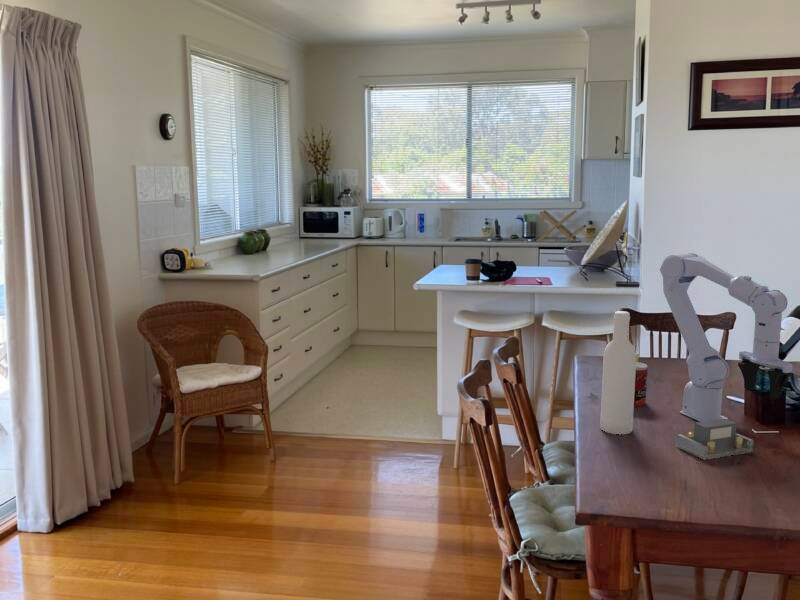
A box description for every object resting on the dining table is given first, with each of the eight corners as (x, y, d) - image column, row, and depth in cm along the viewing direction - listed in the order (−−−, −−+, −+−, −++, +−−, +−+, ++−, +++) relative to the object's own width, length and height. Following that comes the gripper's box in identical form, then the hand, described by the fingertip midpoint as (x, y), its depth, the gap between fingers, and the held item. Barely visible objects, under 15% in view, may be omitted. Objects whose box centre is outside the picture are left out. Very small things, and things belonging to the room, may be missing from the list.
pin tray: (676, 446, 178) (677, 432, 178) (723, 439, 183) (724, 425, 182) (703, 460, 170) (704, 445, 169) (752, 452, 175) (753, 438, 174)
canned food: (640, 408, 207) (642, 369, 206) (612, 403, 212) (613, 365, 210) (649, 401, 213) (652, 363, 212) (622, 396, 218) (624, 359, 216)
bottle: (612, 436, 185) (618, 316, 180) (593, 426, 192) (598, 310, 187) (639, 432, 188) (646, 313, 183) (619, 423, 195) (625, 308, 190)
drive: (693, 445, 176) (694, 422, 175) (723, 440, 179) (725, 418, 178) (704, 450, 173) (705, 427, 172) (735, 445, 176) (736, 423, 175)
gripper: (731, 335, 189) (727, 388, 192) (778, 347, 176) (773, 404, 178) (753, 333, 192) (749, 385, 194) (801, 345, 178) (795, 401, 181)
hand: (762, 394), depth 186 cm, fingers open, 7 cm apart
